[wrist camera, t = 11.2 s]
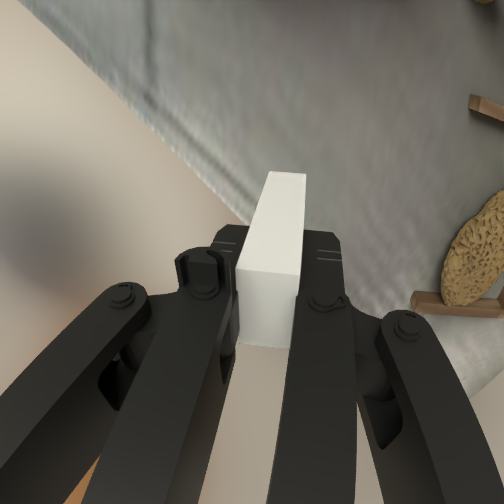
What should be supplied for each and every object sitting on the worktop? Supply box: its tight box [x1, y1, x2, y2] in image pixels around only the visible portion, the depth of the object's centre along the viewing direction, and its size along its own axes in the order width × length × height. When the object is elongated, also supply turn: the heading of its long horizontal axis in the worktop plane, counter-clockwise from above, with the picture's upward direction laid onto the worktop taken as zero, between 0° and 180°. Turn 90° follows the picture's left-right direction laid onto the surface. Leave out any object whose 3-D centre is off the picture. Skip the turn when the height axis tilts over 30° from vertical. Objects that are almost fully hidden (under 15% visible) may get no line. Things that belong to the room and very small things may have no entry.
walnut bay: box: [411, 94, 504, 319], centre depth 37 cm, size 34×21×3 cm, turn 177°
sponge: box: [441, 189, 504, 307], centre depth 38 cm, size 13×8×20 cm
